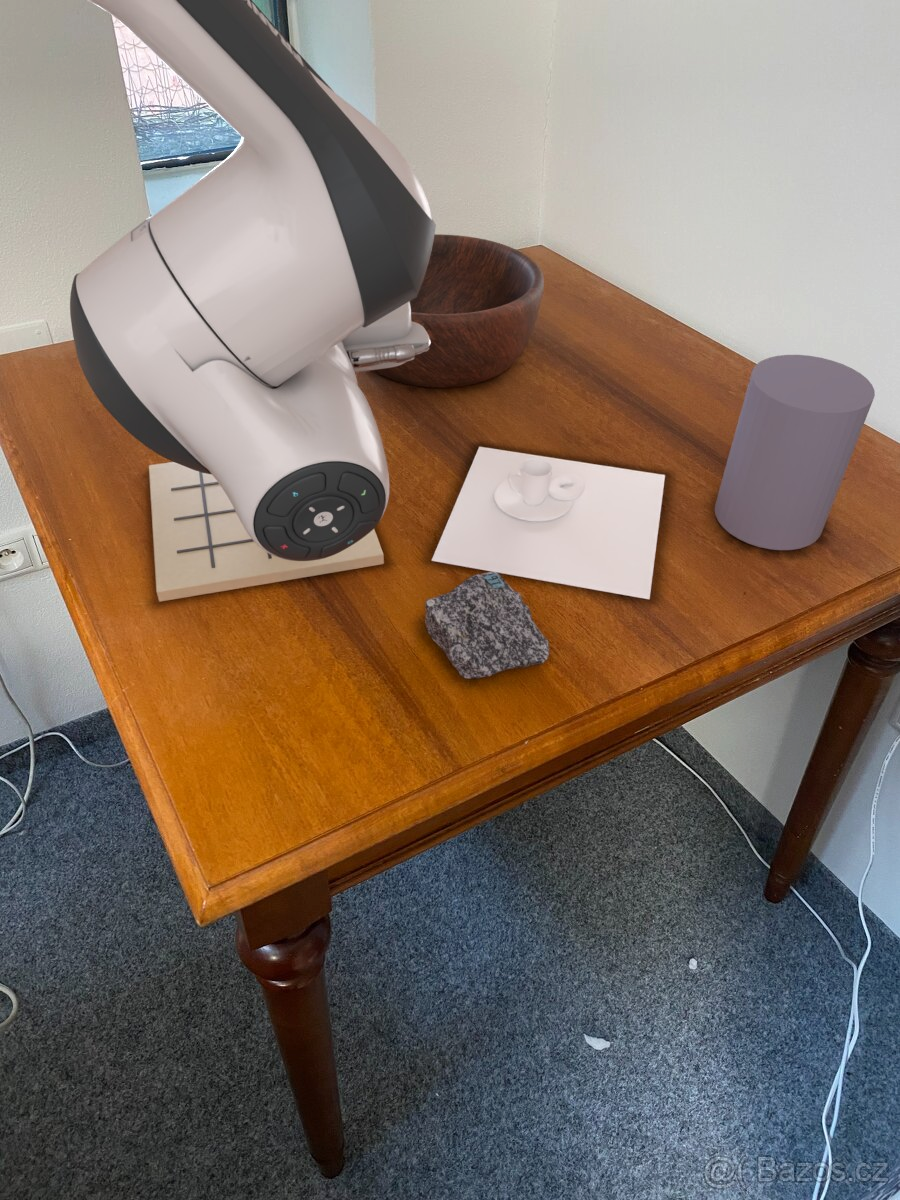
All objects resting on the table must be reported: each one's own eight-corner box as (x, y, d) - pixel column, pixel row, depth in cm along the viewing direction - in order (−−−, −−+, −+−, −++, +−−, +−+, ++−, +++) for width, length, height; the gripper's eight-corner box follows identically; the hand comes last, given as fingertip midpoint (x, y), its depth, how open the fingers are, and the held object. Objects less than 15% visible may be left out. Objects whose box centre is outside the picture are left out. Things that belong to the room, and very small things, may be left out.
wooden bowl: (403, 294, 124) (402, 219, 117) (567, 335, 115) (576, 257, 108) (300, 368, 107) (291, 286, 100) (482, 422, 99) (486, 337, 92)
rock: (467, 702, 68) (469, 665, 65) (418, 619, 75) (418, 582, 72) (553, 674, 71) (558, 637, 68) (498, 596, 77) (500, 559, 74)
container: (752, 562, 81) (798, 421, 71) (693, 500, 89) (728, 363, 78) (843, 540, 84) (901, 402, 74) (780, 481, 91) (824, 347, 81)
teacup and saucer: (585, 486, 90) (590, 452, 87) (574, 532, 84) (579, 497, 81) (502, 472, 91) (504, 439, 89) (486, 517, 86) (487, 482, 83)
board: (159, 602, 76) (155, 591, 75) (150, 473, 90) (148, 462, 89) (384, 564, 80) (383, 553, 79) (342, 447, 94) (341, 436, 94)
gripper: (438, 307, 55) (388, 229, 65) (100, 343, 51) (101, 254, 61) (437, 396, 60) (391, 311, 69) (125, 436, 55) (123, 339, 65)
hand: (253, 284), depth 65 cm, fingers open, 8 cm apart
